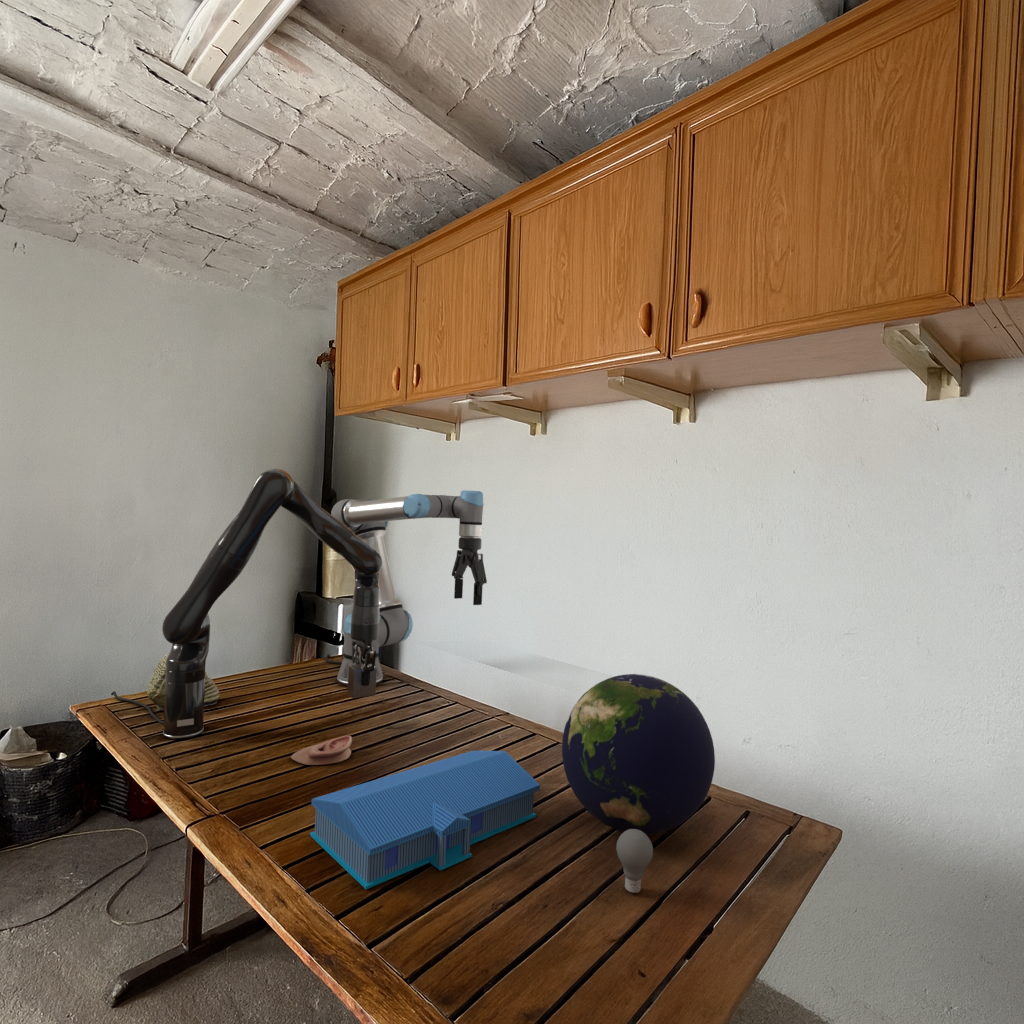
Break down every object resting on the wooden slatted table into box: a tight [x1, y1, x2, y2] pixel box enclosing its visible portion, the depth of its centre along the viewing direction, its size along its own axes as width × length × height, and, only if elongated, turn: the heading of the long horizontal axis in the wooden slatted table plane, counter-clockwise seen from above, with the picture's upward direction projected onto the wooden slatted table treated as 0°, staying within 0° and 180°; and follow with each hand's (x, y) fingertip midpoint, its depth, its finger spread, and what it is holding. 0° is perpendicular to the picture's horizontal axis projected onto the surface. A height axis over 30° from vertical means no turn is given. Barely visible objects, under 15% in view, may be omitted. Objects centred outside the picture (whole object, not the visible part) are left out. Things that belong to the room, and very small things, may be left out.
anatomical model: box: [290, 735, 353, 766], centre depth 154 cm, size 13×4×12 cm
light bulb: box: [615, 829, 654, 894], centre depth 106 cm, size 6×6×10 cm
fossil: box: [147, 654, 221, 712], centre depth 185 cm, size 9×18×15 cm, turn 132°
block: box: [346, 664, 377, 699], centre depth 174 cm, size 5×6×8 cm
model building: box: [309, 750, 541, 890], centre depth 123 cm, size 39×24×10 cm, turn 132°
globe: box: [561, 673, 716, 836], centre depth 127 cm, size 30×30×30 cm
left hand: (361, 682), depth 174 cm, fingers closed on block, 4 cm apart
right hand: (467, 601), depth 209 cm, fingers open, 13 cm apart
